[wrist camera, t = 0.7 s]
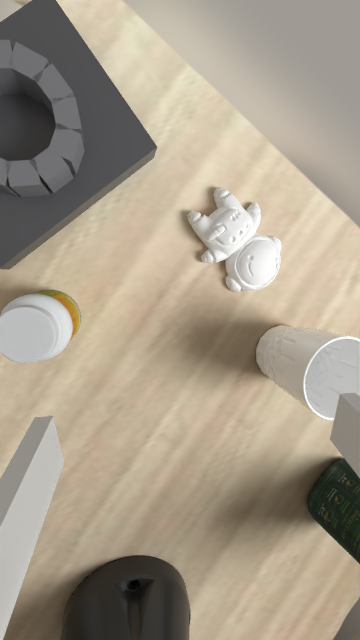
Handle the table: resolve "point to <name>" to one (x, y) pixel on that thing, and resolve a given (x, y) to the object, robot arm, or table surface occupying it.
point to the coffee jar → (339, 505)
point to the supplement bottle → (38, 326)
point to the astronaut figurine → (237, 243)
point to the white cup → (311, 365)
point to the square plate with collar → (57, 129)
